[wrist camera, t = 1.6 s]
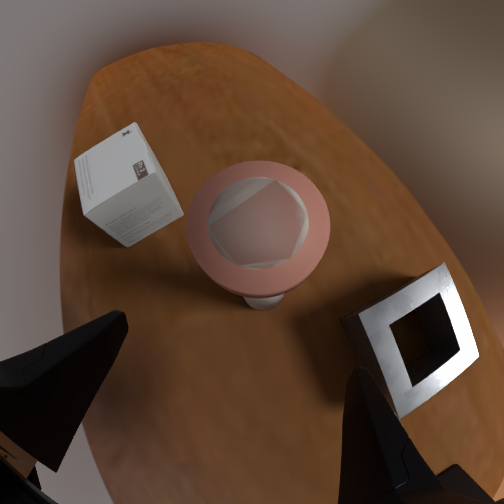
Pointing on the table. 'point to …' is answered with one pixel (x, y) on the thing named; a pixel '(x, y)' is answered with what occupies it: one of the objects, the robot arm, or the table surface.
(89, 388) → the robot arm
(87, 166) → the skincare box
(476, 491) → the phone stand
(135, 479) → the table surface
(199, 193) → the pin
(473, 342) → the block
